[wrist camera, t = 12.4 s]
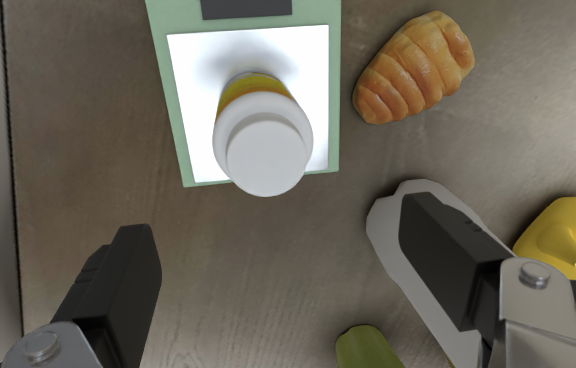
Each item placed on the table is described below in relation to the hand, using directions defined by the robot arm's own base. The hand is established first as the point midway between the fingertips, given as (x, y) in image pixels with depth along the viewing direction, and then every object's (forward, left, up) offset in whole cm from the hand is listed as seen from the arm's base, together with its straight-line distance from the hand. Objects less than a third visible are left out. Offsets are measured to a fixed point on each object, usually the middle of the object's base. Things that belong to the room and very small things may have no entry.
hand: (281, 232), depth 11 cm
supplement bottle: (0, 0, -17) cm, 17 cm away
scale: (-1, 0, -19) cm, 19 cm away
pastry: (-1, +13, -20) cm, 24 cm away
